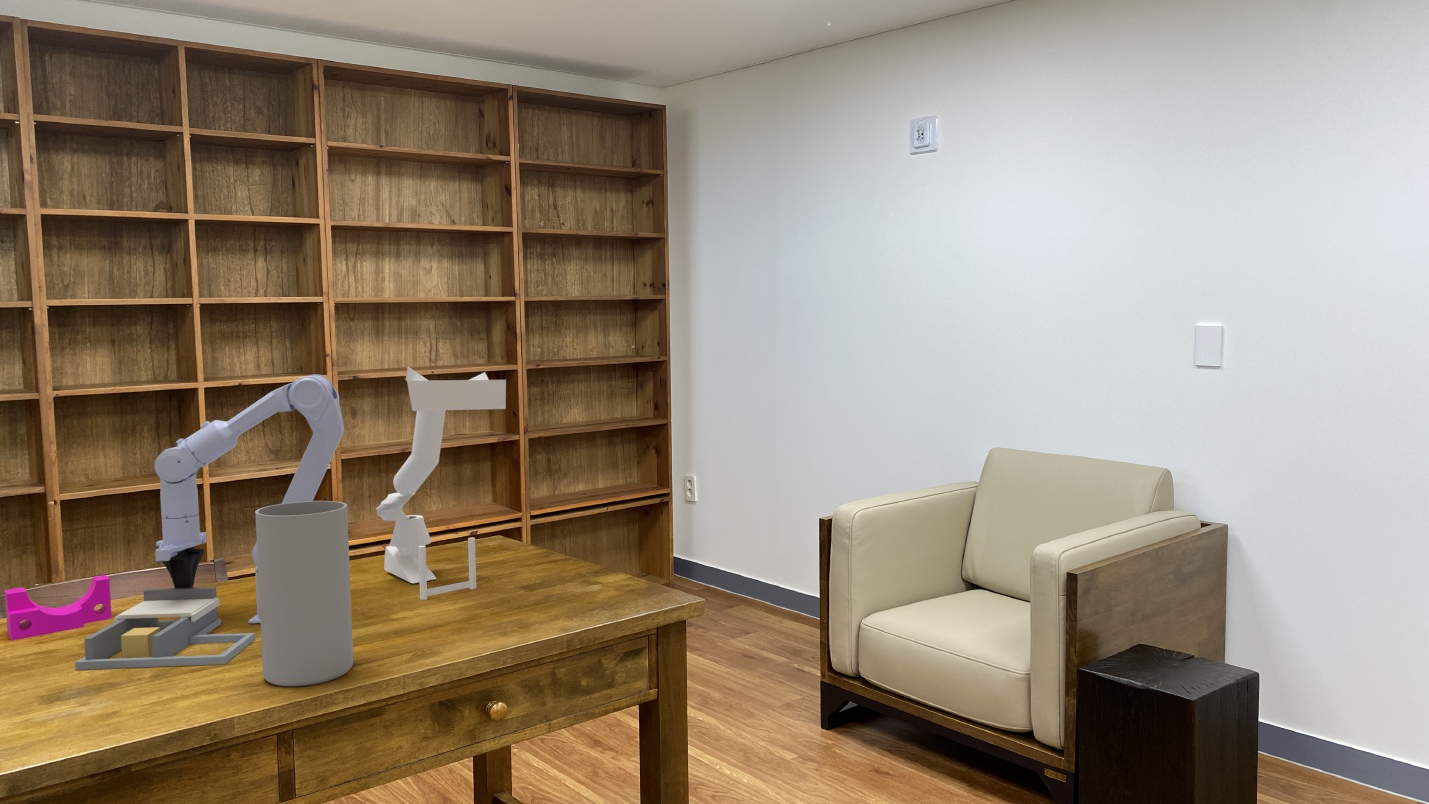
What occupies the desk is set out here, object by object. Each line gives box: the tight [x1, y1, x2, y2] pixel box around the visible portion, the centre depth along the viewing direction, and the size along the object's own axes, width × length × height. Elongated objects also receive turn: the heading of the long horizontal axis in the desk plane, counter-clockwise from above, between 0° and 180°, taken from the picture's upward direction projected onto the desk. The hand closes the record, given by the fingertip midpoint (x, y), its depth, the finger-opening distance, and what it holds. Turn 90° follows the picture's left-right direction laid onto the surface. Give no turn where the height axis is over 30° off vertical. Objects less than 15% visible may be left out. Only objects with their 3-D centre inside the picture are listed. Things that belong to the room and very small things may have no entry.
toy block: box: [4, 574, 113, 641], centre depth 171 cm, size 15×6×8 cm, turn 131°
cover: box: [114, 586, 220, 622], centre depth 165 cm, size 12×10×3 cm
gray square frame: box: [74, 606, 256, 671], centre depth 160 cm, size 22×22×4 cm
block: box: [121, 627, 160, 658], centre depth 155 cm, size 4×4×4 cm
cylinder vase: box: [254, 500, 354, 687], centre depth 145 cm, size 12×12×25 cm
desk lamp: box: [375, 366, 507, 601], centre depth 188 cm, size 38×18×45 cm, turn 42°
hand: (184, 592), depth 170 cm, fingers closed
